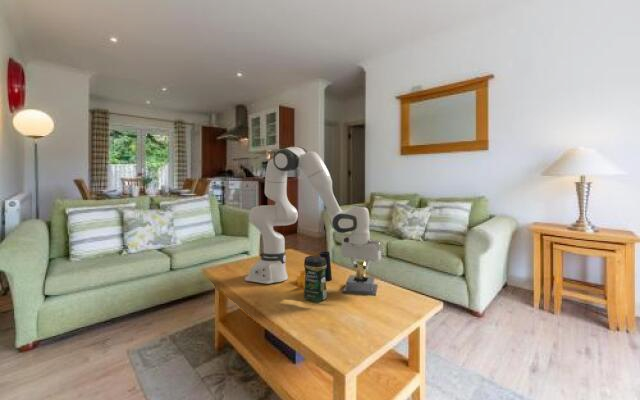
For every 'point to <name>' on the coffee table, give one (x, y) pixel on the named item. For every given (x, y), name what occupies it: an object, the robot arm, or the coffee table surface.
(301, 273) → the pipe clamp
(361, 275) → the tan cylinder
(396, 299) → the coffee table surface
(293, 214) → the robot arm
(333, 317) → the coffee table surface
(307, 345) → the coffee table surface
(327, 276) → the pipe connector
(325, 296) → the coffee jar
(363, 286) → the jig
